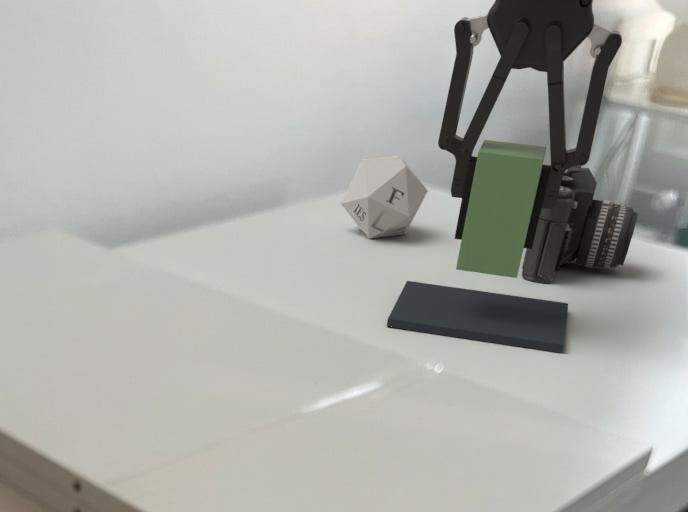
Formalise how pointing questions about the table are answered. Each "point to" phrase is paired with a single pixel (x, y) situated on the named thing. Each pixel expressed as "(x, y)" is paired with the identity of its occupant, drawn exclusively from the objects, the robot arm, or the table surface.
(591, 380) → the table surface
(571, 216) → the camera
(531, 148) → the green block
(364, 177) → the die
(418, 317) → the mat
